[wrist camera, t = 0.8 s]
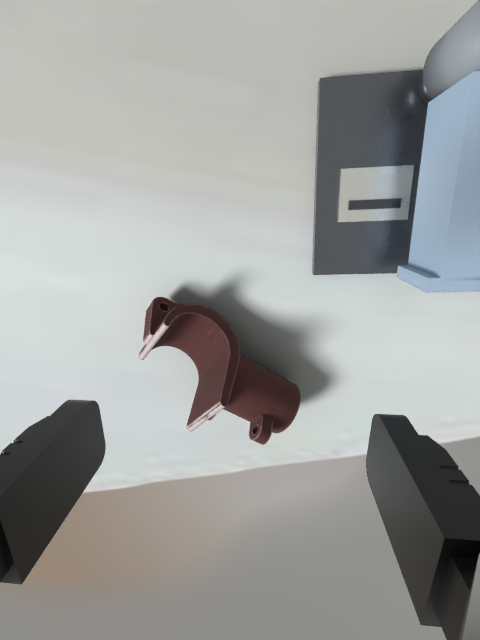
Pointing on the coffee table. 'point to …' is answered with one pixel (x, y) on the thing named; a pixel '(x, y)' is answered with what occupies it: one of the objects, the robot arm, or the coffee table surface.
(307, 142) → the coffee table surface
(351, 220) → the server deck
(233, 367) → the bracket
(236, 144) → the coffee table surface
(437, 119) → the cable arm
